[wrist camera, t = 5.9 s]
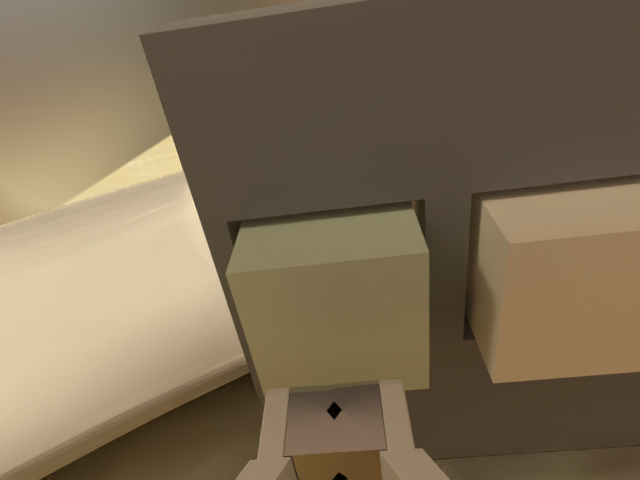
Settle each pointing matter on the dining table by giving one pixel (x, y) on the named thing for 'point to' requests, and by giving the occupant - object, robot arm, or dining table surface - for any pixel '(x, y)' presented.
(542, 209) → the key ivory
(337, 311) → the key sage
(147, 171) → the dining table surface
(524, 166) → the keyguard
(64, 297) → the square plate
